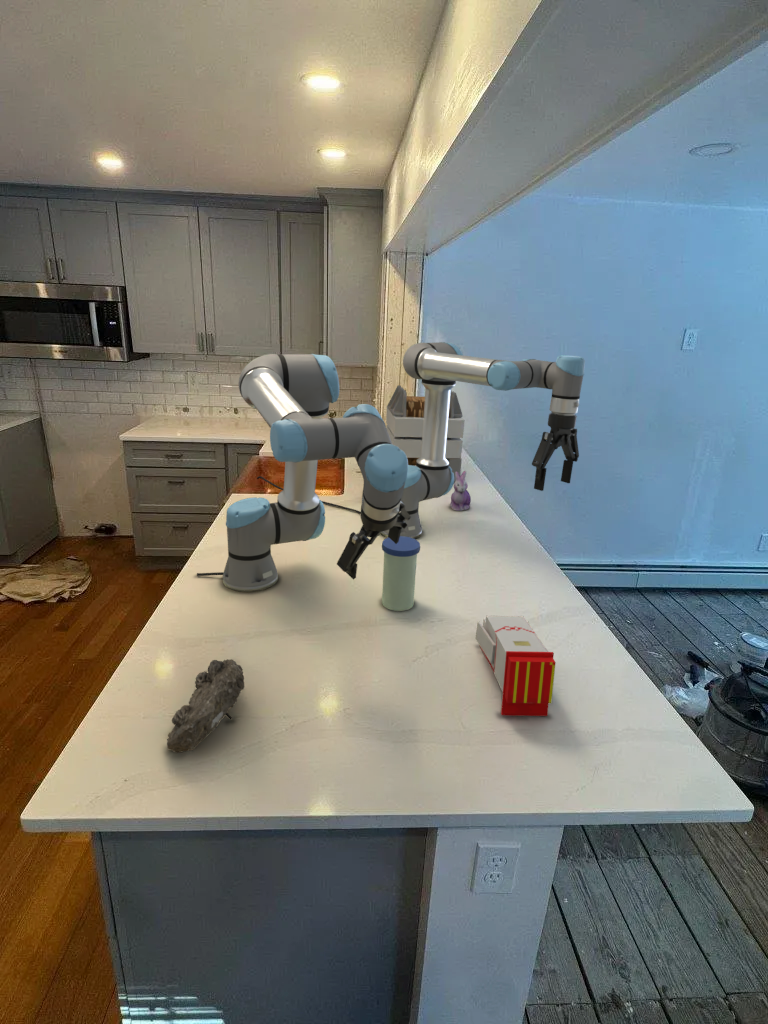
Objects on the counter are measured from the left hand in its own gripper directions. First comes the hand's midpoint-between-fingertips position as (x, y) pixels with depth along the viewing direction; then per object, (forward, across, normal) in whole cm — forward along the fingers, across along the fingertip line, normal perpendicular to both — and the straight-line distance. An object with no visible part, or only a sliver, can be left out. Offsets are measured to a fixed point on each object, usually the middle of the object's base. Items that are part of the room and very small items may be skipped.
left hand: (372, 556), depth 130 cm
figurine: (+74, +74, +17) cm, 106 cm away
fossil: (0, -47, -4) cm, 47 cm away
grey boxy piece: (+105, +93, +52) cm, 150 cm away
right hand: (+16, +62, -13) cm, 66 cm away
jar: (+27, +7, -6) cm, 28 cm away
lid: (+13, +14, +2) cm, 19 cm away
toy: (+7, +5, -39) cm, 40 cm away
